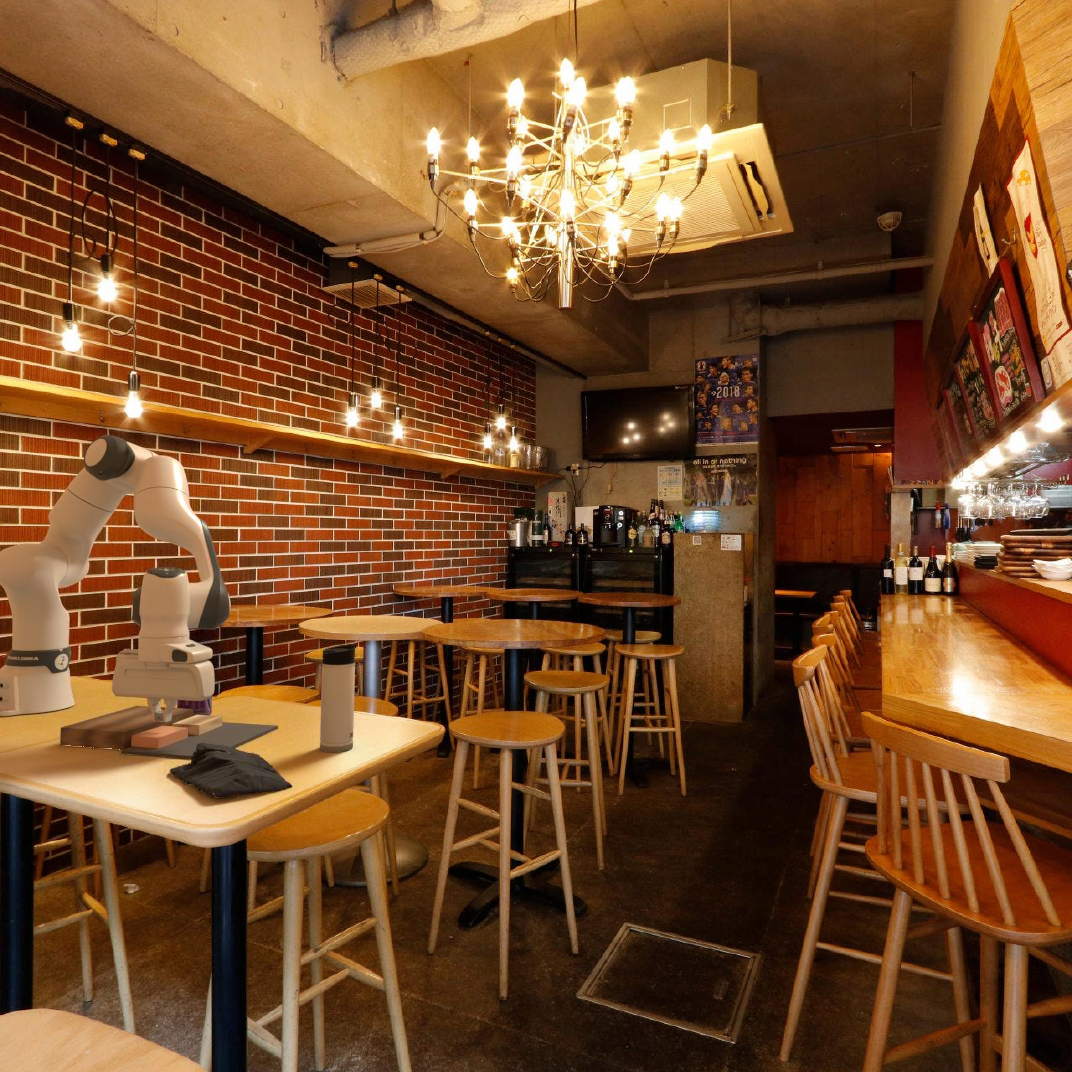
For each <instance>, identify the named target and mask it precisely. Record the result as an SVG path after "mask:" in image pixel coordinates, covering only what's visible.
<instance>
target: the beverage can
mask: <svg viewBox="0 0 1072 1072" xmlns="http://www.w3.org/2000/svg"><path fill="white" fill-rule="evenodd" d="M212 705H213V695H212V696H211V697H210V698H209V699H206V700H203V701H188V700H178V703H177V705H176V708H182V709H193V716H195V715H210V716H212V712H213V708H212Z"/></svg>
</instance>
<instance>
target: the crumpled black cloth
mask: <svg viewBox="0 0 1072 1072" xmlns="http://www.w3.org/2000/svg"><path fill="white" fill-rule="evenodd" d="M169 772H170V773H171V774H172V775H173V776H176V777H177V778H178V779H179V780H180V781H181V782H183V783H184V784H186V785H187V786H189V785H190V786H192V787H194V788H196V789H197V791H199V792H202V793H204V794H205V795H206V796H210V797H212V798H216V799H223V798H224V799H225V798H229V797H236V796H237V797H238V796H242V795H252V794H253V795H254V794H262V793H272V792H280V791H283V790H287V789H289V788H293V785H292V783H290V782H288V781H287V780H286V779H285V778H284V777H283V776H281V774H280V773H279V771H278V770H277V769H275V767H274V766H273V765H272V764H270V763H269V762H268V761H267V760H266V759H265V758H263V757H262V756H261V755H260V754H257V753H254V752H248V751H244V750H240V749H237V748H232V747H228V746H223V745H214V744H207V743H199V744H197V747H196V751H195V752H194V753H193V756H192V758H191V759H190V762H189V763H187V764H182V765H178V766H176V767H173V768H170V769H169Z"/></svg>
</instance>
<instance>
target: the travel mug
mask: <svg viewBox="0 0 1072 1072" xmlns="http://www.w3.org/2000/svg"><path fill="white" fill-rule="evenodd" d="M356 649H357V644H353V643H350V644H349V643H348V645H346V644H345V645H335V646H330V647H327V648H324V649H323V650H322V660H321V661H322V663H321V686H320V688H321V691H320V694H321V695H320V727H319V728H320V729H319V730H320V731H319V733H320V734H319V736H320V737H319V740H320V742H319V749H320V751H322V752H325V753H342V752H347V751H350V750H352V748H353V747H354V725H355V723H354V720H355V682H356V681H355V680H356V675H355V674H356V673H355V672H356V660H355V658H356Z"/></svg>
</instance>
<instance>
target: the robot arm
mask: <svg viewBox="0 0 1072 1072" xmlns="http://www.w3.org/2000/svg"><path fill="white" fill-rule="evenodd" d="M83 463H84V464H83V465H84V467H83V468H82V469H81V470H80V471H79V472H78V473H77V474H76V475H75V477H74V478H73V479H72V480H71V481H70V483H69V484H68V486H67V487H66V489H65V490H64V491H63V493H62V494H61V496H60V497H59V498H58V500H57V502H56V503H55V504H54V505H53V506H52V509H50V511H49V513H48V522H49V526H48V529H47V533H46V536H45V537H44V539H43V540H42V541H41V542H39V543H34V542H33V543H27V542H26V543H24V542H23V543H19V544H15V545H12V546H9V547H6V548H4V549H2V550H0V586H1V587H2V588H3V589H4V592H5V594H6V597H7V600H8V603H9V607H10V610H11V618H12V635H11V636H12V637H11V638H12V641H11V642H12V643H11V646H12V647H11V648H10V650H9V651H3V652H1V654H2V656H1V658H6V659H5V662H4V665H3V666H2V667H1V668H0V717H9V716H17V715H26V714H38V713H39V714H40V713H46V712H54V711H59V710H63V709H67V708H70V707H73V706H75V704H76V702H75V698H74V695H73V691H72V690H73V689H72V682H71V673H70V672H71V671H70V668H69V666H70V662H71V659H72V657H71V656H72V651H71V650H72V648H71V646H70V645H69V644H70V642H69V641H70V613H69V612H68V610H67V609H66V608H65V607H64V605H63V604H62V600H61V596H60V593H59V589H64V588H69V587H71V586H73V585H75V584H77V583H79V582H81V581H82V580H84V578H86V576H87V574H88V573H89V569H90V560H89V557H90V555H91V551H92V548H93V546H94V543H95V542H96V540H97V537H98V536H99V534H100V533H101V531H102V530H103V528H105V526H106V524H107V523H108V521H109V520H110V519H111V517H112V515H113V514H114V513H115V511H116V510H117V508H118V507H119V505H120V503H121V502H122V500H123V498H124V497H125V496H127V495H129V494H132V495H133V512H134V518H135V522H136V524H137V525H138V527H139V528H140V529H141V530H142V531H143V532H144V533H146V535H149V536H150V537H152V538H154V539H156V540H159V541H162V542H164V543H169V544H172V545H175V546H178V547H180V548H182V549H184V550H185V551H188V552H189V553H191V554H192V555H193V558H194V560H195V565H196V567H197V572H198V576H199V578H200V579H199V580H200V581H198V582H190V581H189V577H188V573H187V571H186V570H184V569H182V568H179V567H174V566H173V567H171V566H161V567H160V566H159V567H158V566H157V567H153V568H150V569H147V570H146V571H145V572H144V574H143V578H142V583H141V584H142V585H141V586H140V587H138V588H137V589H136V590H135V591H134V592H132V593H131V598H132V600H131V601H132V606H131V607H132V608H131V609H132V612H131V614H132V615H131V618H130V620H131V621H132V622H133V623H134V624H136V625H137V626H139V627H140V630H139V633H138V649H137V648H136V649H134V648H133V649H131V648H124V649H123V650H121V651H119V652H118V654H116V657H115V668H114V671H113V677H112V684H111V691H112V693H113V694H114V696H115V697H124V698H125V697H126V698H141V699H146V701H147V702H146V703H147V706H149V708H150V710H151V712H152V720H153V721H158V722H168V721H171V719H172V711H173V710H174V708H176V707H177V703H178V700H188V701H203V700H206V699H209V698H210V697H211V696H212V697H213V695H214V693H215V684H216V683H215V681H216V680H215V669H214V665H213V663H212V661H210V659H212V658H213V654H214V653H213V649H212V648H211V647H209V646H206V645H203V644H202V643H201V644H200V643H199V642H197V641H194V640H192V639H190V629H198V630H213V631H214V630H216V629H218V628H219V627H220V626H222V625H223V624H224V623H225V622H227V620H228V619H229V617H230V613H231V607H232V605H231V598H230V594H229V592H228V589H227V586H226V583H225V580H224V578H223V576H222V571H221V567H220V564H219V560H218V556H217V553H216V550H215V549H216V548H215V545H214V542H213V538H212V535H211V531H210V529H209V526H208V524H207V523H206V521H205V520H203V519H201V518H199V517H198V516H197V515H196V513H195V512H194V511H193V509H192V507H191V503H190V491H189V485H188V484H189V483H188V480H187V474H186V472H185V468H184V466H183V465H182V463H181V462H179V460H177V459H176V458H173V456H168V455H159V454H157V453H156V452H153V451H152V450H150V449H148V448H144V447H142V446H139V445H137V444H134V443H132V442H130V441H126V440H125V439H124V438H121V437H119V436H115V435H110V434H104V435H101V436H99V437H97V438H95V439H94V440H93V441H92V442H91V443H90V444H89V445H88V446H87V448H86V451H85V453H84V456H83ZM4 654H5V655H4ZM162 700H163V705H164V706H165V705H166V706H165V709H164V711H162V710H161V708H160V707H161V706H160V702H161V701H162Z"/></svg>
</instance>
